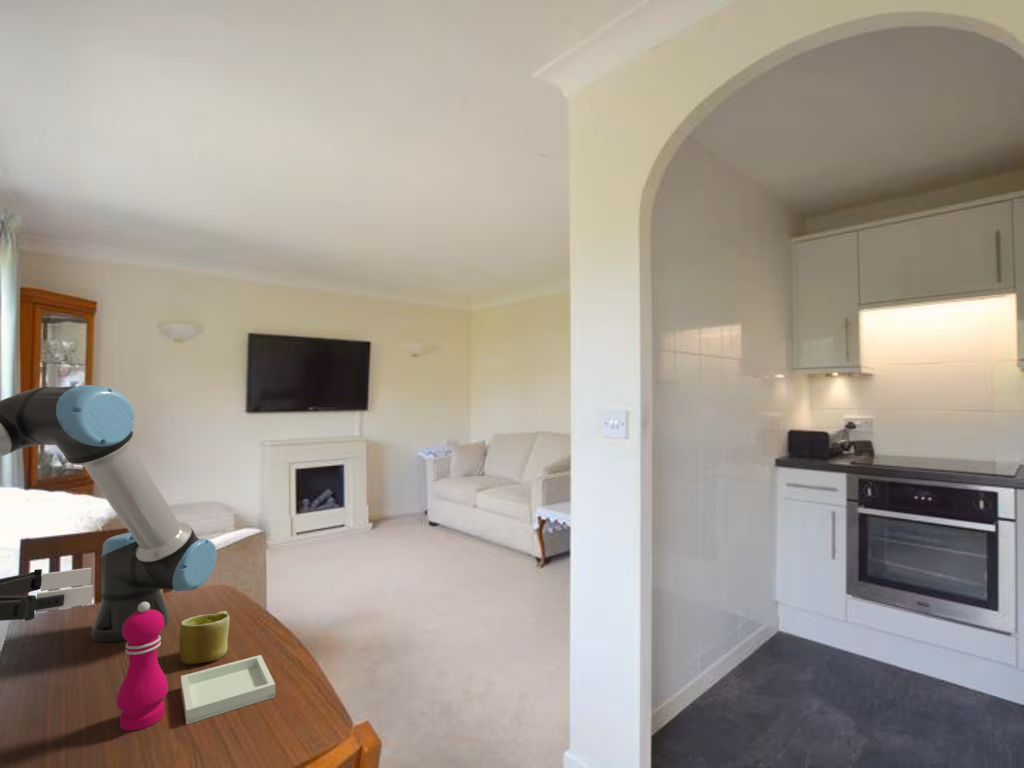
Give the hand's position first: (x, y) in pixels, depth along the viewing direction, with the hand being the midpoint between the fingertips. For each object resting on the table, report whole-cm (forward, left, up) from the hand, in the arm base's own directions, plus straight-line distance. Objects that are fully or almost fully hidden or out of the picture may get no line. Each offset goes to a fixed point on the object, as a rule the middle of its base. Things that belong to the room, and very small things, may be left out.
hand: (92, 584), depth 87 cm
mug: (-21, +19, -25) cm, 37 cm away
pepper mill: (0, +7, -25) cm, 26 cm away
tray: (-1, +20, -24) cm, 32 cm away
